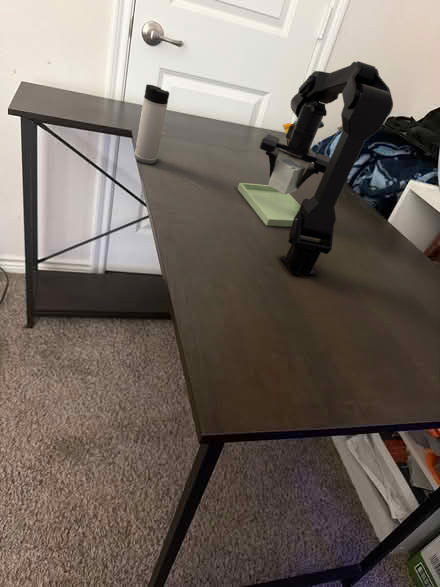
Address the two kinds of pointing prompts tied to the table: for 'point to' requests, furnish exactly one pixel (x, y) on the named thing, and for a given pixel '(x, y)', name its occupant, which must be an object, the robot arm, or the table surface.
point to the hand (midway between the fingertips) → (283, 183)
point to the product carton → (286, 175)
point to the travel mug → (151, 124)
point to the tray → (270, 204)
